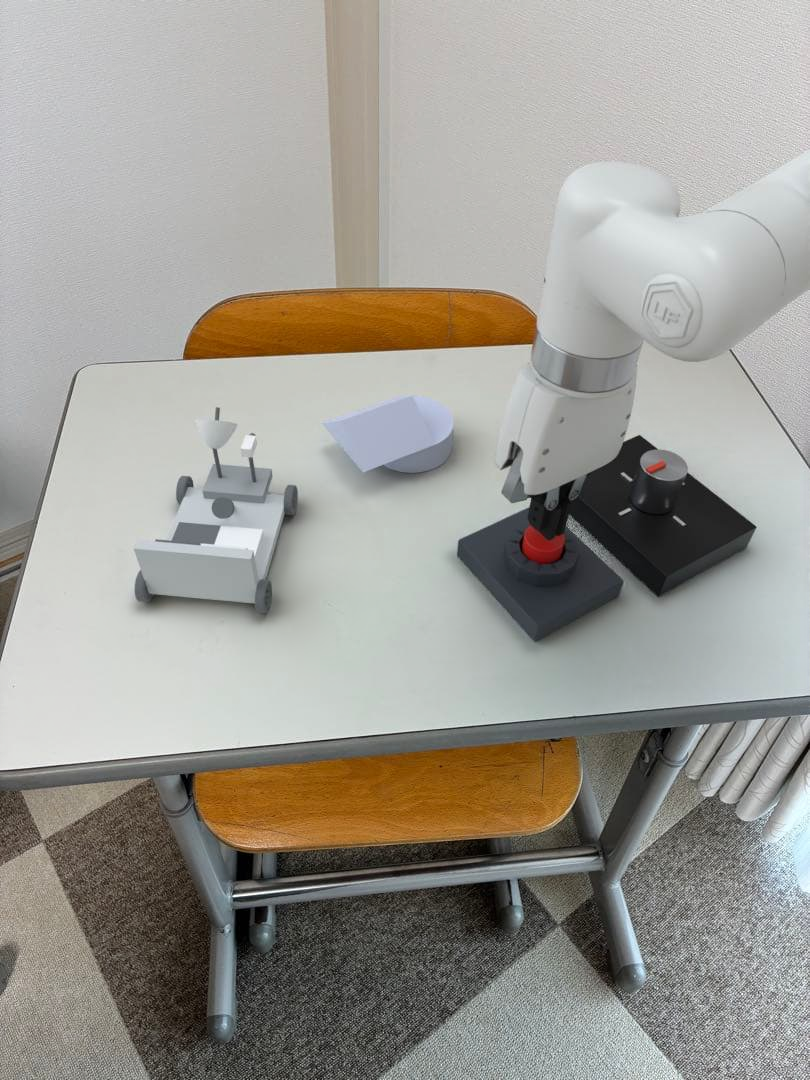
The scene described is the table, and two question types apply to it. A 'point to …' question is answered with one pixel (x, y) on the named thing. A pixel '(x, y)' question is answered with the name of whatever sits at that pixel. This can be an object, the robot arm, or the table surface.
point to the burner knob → (658, 481)
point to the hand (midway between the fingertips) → (545, 527)
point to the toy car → (218, 531)
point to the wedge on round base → (396, 434)
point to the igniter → (538, 576)
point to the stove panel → (658, 524)
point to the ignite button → (542, 547)
